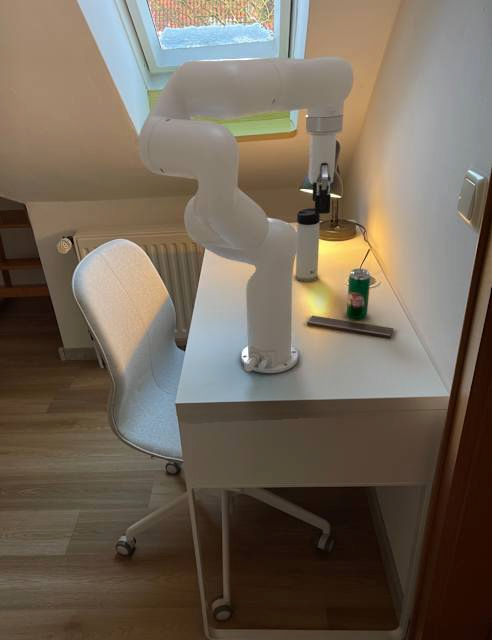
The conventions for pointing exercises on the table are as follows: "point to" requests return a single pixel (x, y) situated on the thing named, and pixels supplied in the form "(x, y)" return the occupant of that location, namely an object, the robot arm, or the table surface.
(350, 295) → the soda can
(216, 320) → the table surface
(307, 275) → the travel mug
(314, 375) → the table surface
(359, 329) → the ruler
